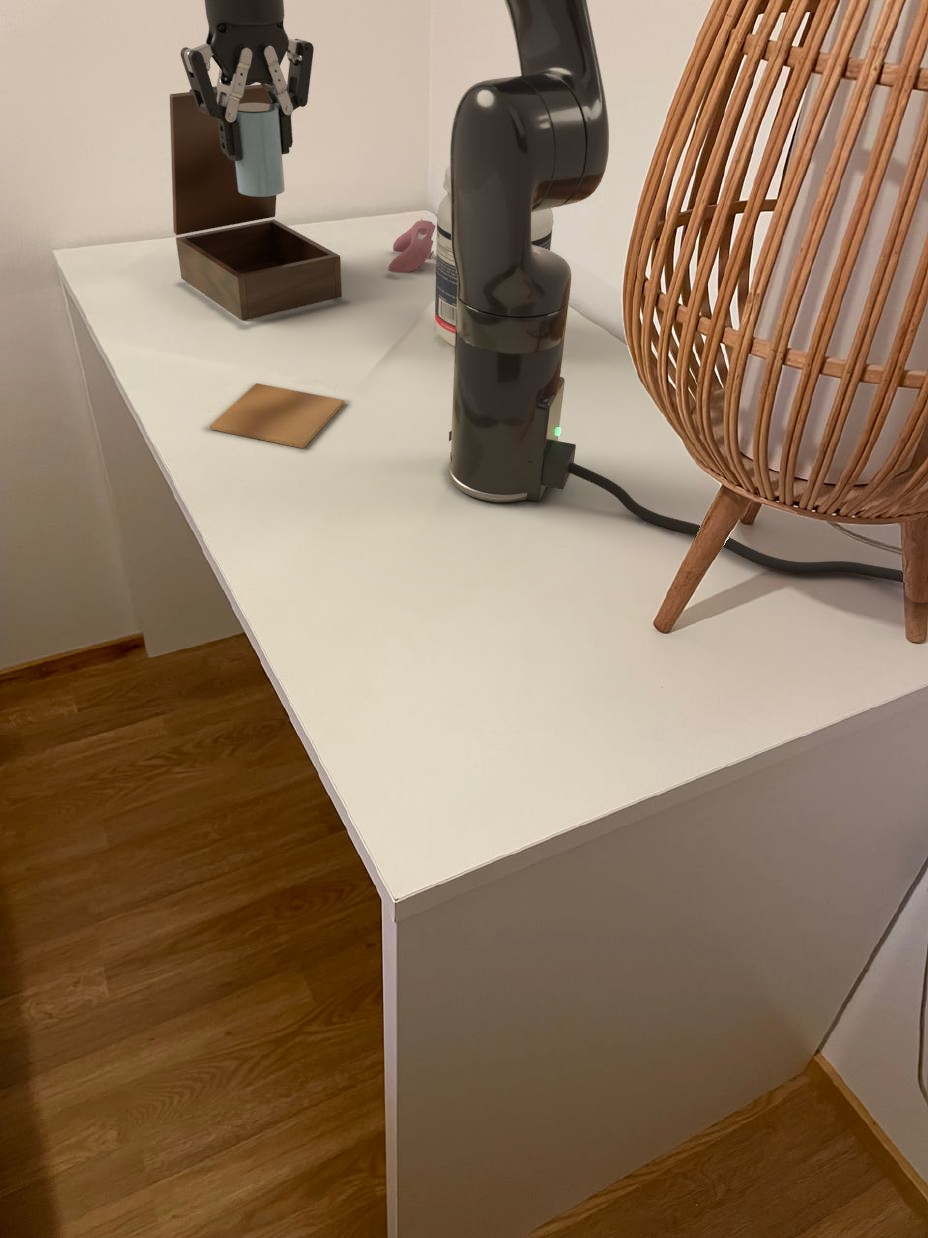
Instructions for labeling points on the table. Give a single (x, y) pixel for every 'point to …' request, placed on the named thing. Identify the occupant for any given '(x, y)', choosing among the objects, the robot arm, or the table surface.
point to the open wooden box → (259, 268)
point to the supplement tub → (446, 265)
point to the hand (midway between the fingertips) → (258, 154)
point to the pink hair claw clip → (413, 247)
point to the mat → (278, 415)
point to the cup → (259, 151)
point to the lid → (208, 170)
